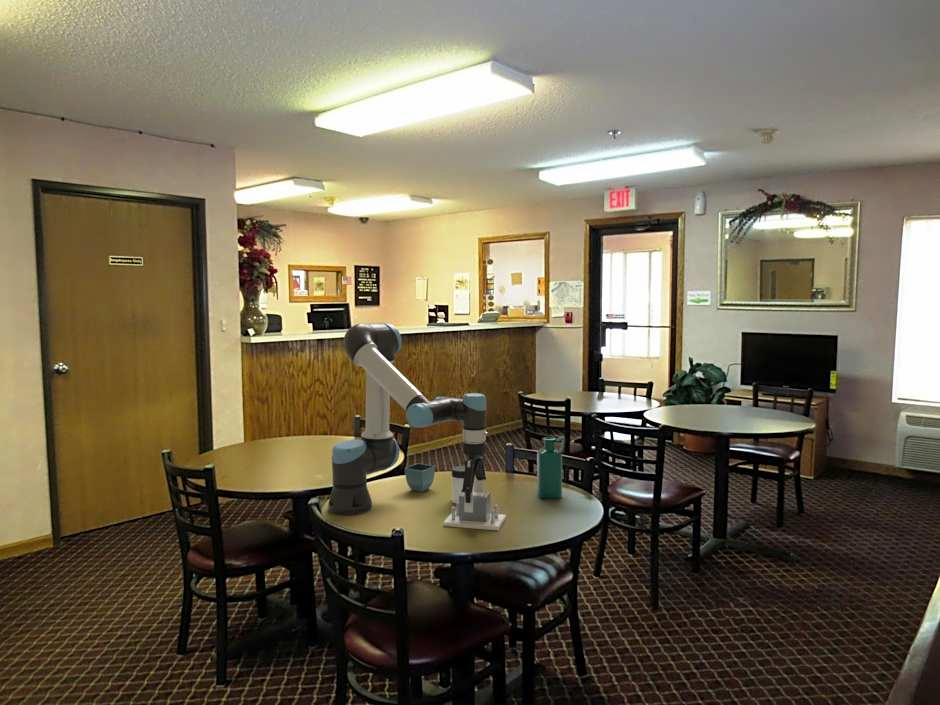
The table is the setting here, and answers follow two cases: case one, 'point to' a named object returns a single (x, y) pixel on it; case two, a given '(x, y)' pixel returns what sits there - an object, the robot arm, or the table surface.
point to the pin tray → (491, 524)
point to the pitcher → (550, 469)
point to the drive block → (476, 507)
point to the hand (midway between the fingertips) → (474, 505)
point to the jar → (457, 482)
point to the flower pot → (420, 476)
